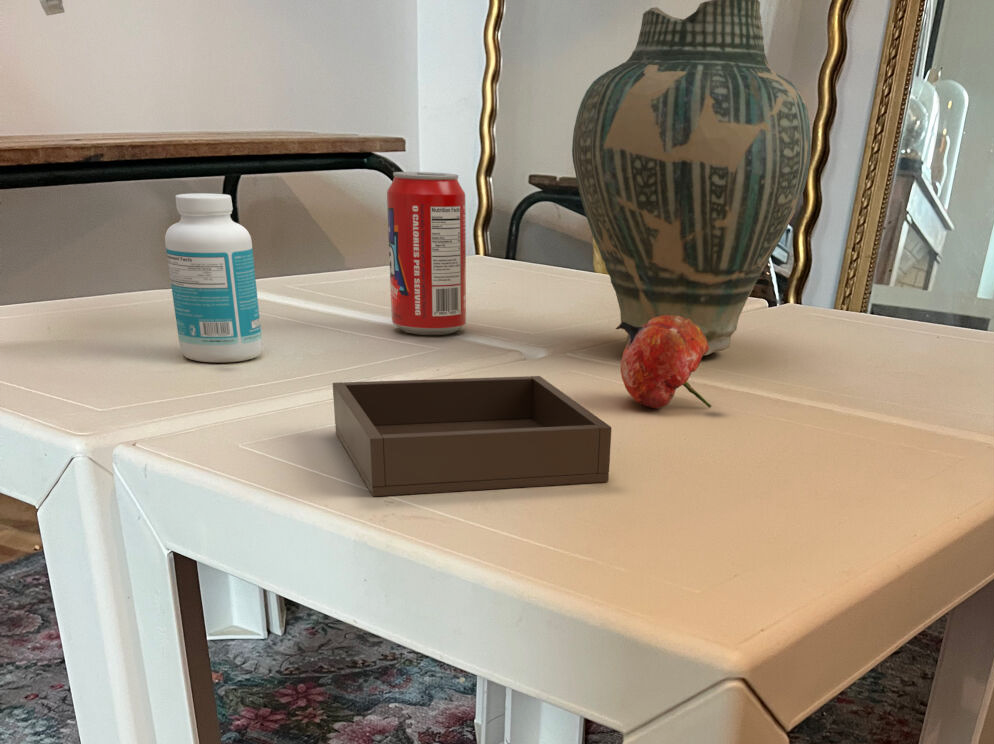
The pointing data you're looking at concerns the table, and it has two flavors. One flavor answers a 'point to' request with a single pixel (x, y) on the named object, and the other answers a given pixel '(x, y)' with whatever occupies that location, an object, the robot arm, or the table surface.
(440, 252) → the soda can
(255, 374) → the table surface
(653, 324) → the red lumpy rounded piece
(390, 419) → the holder
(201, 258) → the pill bottle
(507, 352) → the table surface
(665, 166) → the vase
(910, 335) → the table surface
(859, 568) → the table surface
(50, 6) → the robot arm
